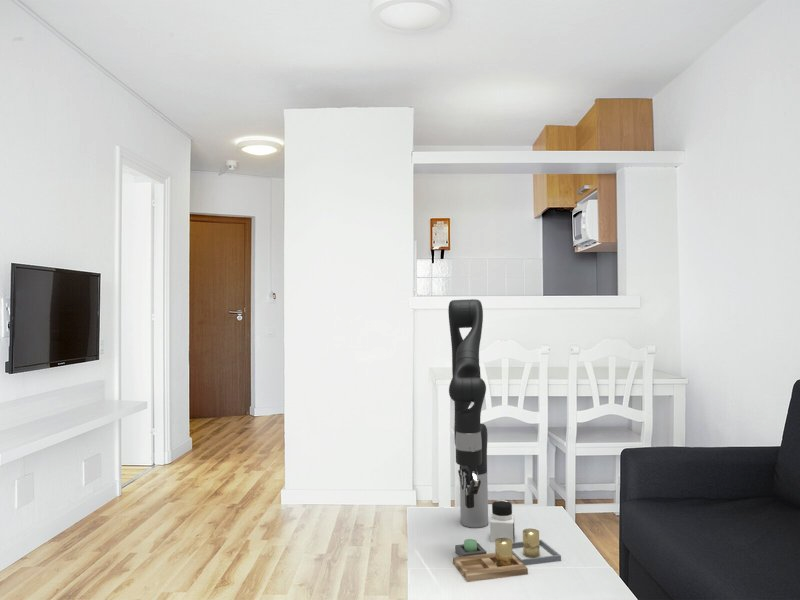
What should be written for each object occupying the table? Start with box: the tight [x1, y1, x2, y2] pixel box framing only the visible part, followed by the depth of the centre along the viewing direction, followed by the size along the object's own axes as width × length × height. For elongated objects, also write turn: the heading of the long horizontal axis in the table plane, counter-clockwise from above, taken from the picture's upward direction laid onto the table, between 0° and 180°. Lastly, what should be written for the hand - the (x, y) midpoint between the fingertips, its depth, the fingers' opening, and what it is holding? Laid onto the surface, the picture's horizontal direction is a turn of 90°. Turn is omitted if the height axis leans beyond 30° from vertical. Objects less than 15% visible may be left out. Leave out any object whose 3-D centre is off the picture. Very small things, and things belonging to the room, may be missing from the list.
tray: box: [512, 539, 562, 566], centre depth 175 cm, size 12×12×2 cm
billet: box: [522, 528, 541, 559], centre depth 175 cm, size 5×5×7 cm
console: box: [454, 542, 488, 557], centre depth 175 cm, size 7×7×3 cm
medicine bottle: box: [489, 499, 516, 543], centre depth 188 cm, size 7×7×12 cm
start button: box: [463, 538, 478, 552], centre depth 175 cm, size 4×4×3 cm
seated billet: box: [494, 538, 513, 567], centre depth 167 cm, size 5×5×7 cm
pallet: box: [452, 552, 529, 583], centre depth 166 cm, size 12×17×2 cm
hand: (469, 507), depth 175 cm, fingers closed
